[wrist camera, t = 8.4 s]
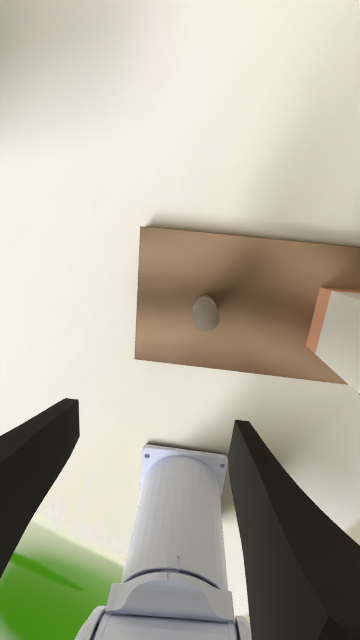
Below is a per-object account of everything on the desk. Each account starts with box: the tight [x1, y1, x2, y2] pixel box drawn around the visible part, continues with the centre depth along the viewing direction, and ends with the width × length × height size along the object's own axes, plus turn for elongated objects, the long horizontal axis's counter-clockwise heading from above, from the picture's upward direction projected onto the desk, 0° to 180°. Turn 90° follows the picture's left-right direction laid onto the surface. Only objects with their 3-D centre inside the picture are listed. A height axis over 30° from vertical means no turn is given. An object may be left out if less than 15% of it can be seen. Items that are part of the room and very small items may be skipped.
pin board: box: [135, 226, 360, 385], centre depth 16 cm, size 10×20×4 cm, turn 84°
